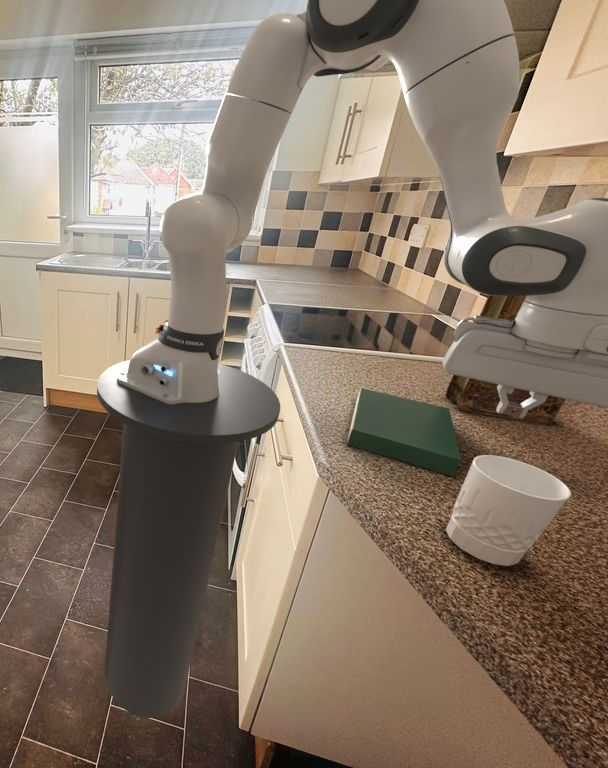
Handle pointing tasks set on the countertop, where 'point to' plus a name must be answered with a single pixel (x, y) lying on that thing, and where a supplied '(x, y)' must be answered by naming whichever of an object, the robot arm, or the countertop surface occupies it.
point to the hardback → (405, 431)
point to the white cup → (504, 508)
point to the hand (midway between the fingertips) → (508, 414)
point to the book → (485, 394)
